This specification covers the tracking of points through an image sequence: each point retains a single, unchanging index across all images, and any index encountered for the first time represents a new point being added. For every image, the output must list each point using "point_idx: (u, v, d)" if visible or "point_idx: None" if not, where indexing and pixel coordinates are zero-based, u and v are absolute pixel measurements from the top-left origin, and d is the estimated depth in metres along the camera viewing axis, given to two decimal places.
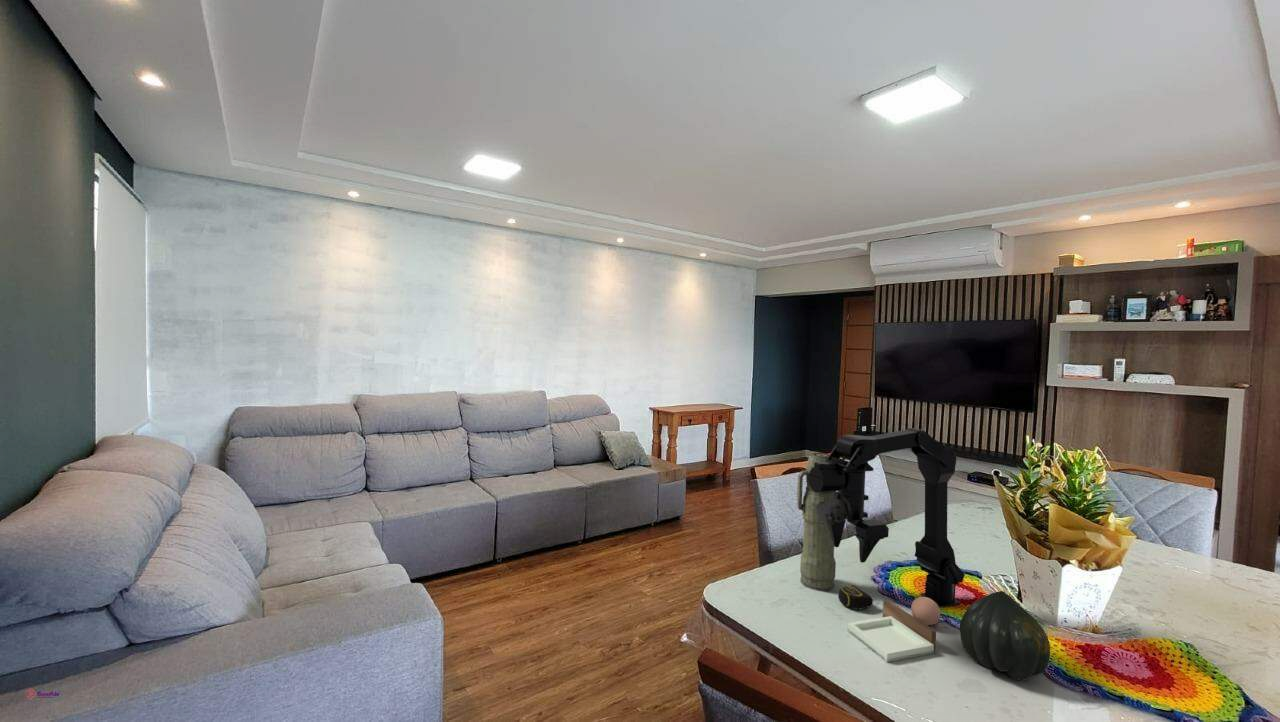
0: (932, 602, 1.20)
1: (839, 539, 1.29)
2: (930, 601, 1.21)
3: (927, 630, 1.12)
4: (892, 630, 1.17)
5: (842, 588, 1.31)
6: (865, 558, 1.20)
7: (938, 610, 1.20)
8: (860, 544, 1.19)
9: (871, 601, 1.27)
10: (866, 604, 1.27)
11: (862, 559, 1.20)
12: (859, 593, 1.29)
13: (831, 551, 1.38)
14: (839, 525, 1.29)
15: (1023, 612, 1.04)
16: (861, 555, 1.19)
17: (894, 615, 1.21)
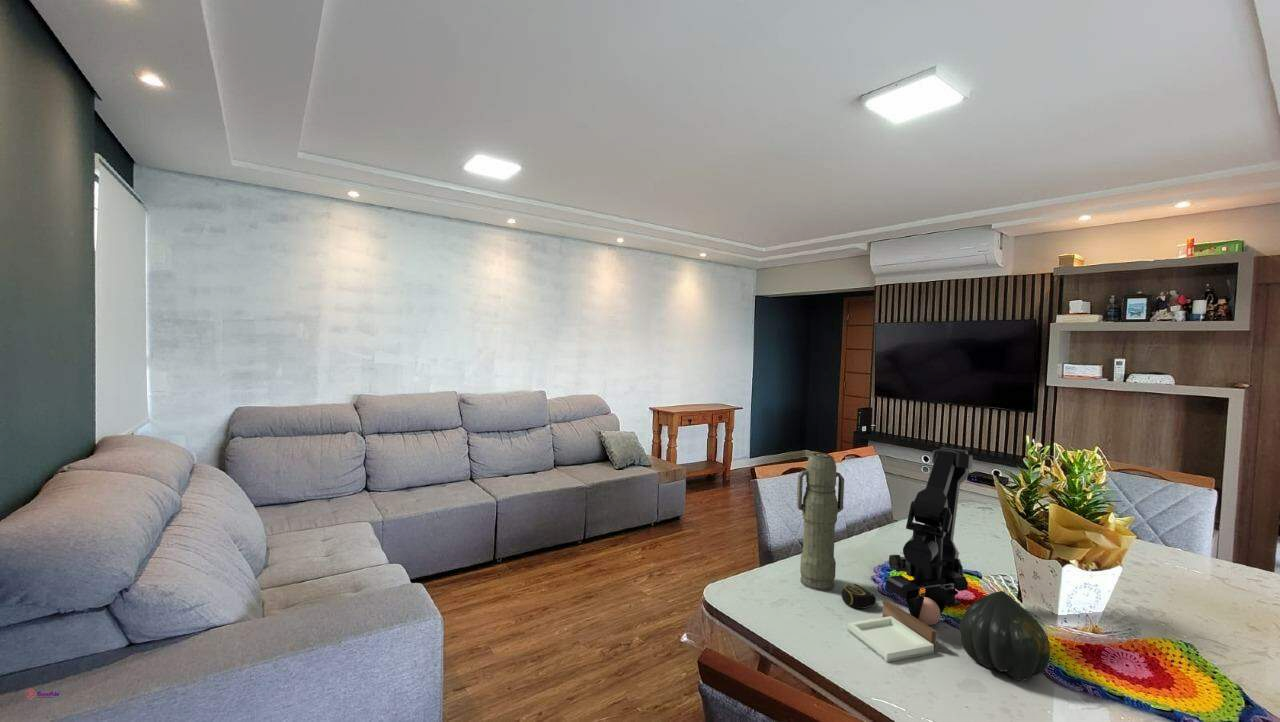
0: (932, 602, 1.20)
1: None
2: (930, 601, 1.21)
3: (927, 630, 1.12)
4: (892, 630, 1.17)
5: (845, 587, 1.32)
6: None
7: (938, 610, 1.20)
8: None
9: (874, 600, 1.28)
10: (869, 603, 1.28)
11: None
12: (862, 592, 1.29)
13: (831, 551, 1.38)
14: (940, 597, 1.22)
15: (1023, 612, 1.04)
16: None
17: (894, 615, 1.21)
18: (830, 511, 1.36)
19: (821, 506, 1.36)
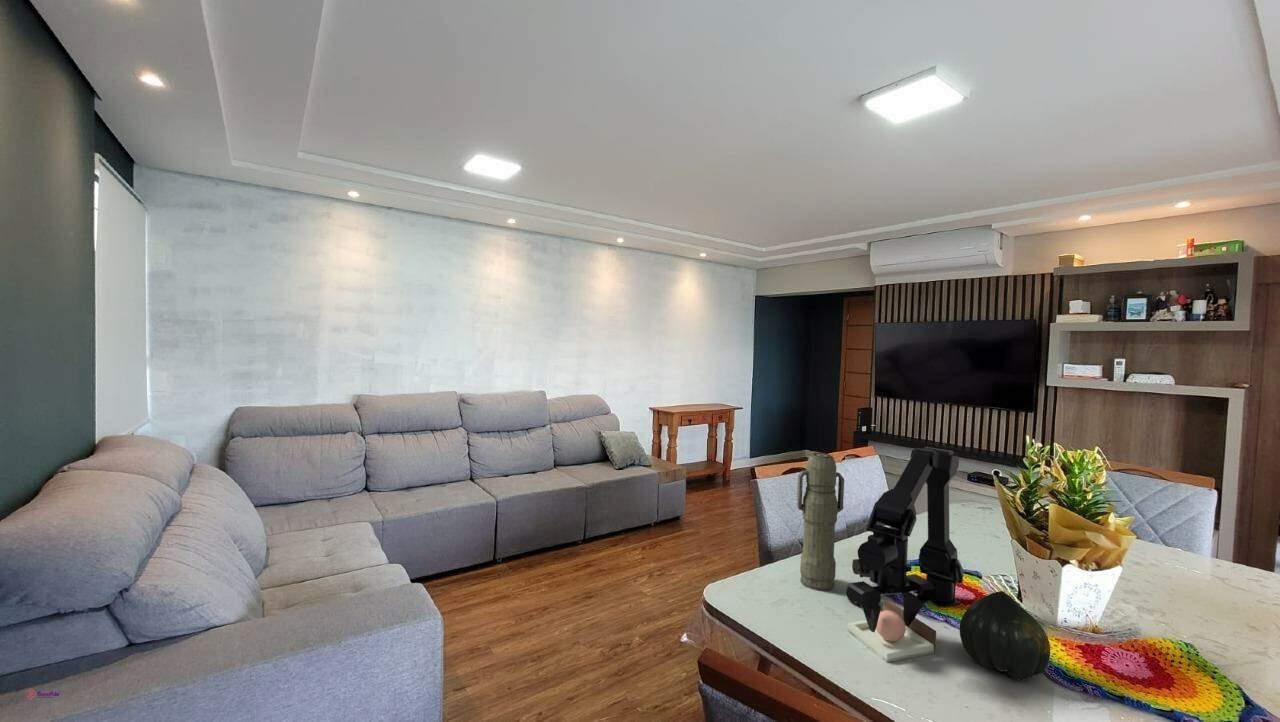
0: (897, 616, 1.13)
1: (908, 618, 1.14)
2: (896, 615, 1.13)
3: (927, 630, 1.12)
4: None
5: None
6: (871, 627, 1.12)
7: (903, 625, 1.12)
8: None
9: None
10: None
11: (869, 626, 1.13)
12: None
13: (831, 551, 1.38)
14: (911, 604, 1.14)
15: (1023, 612, 1.04)
16: None
17: None
18: (830, 511, 1.36)
19: (821, 506, 1.36)
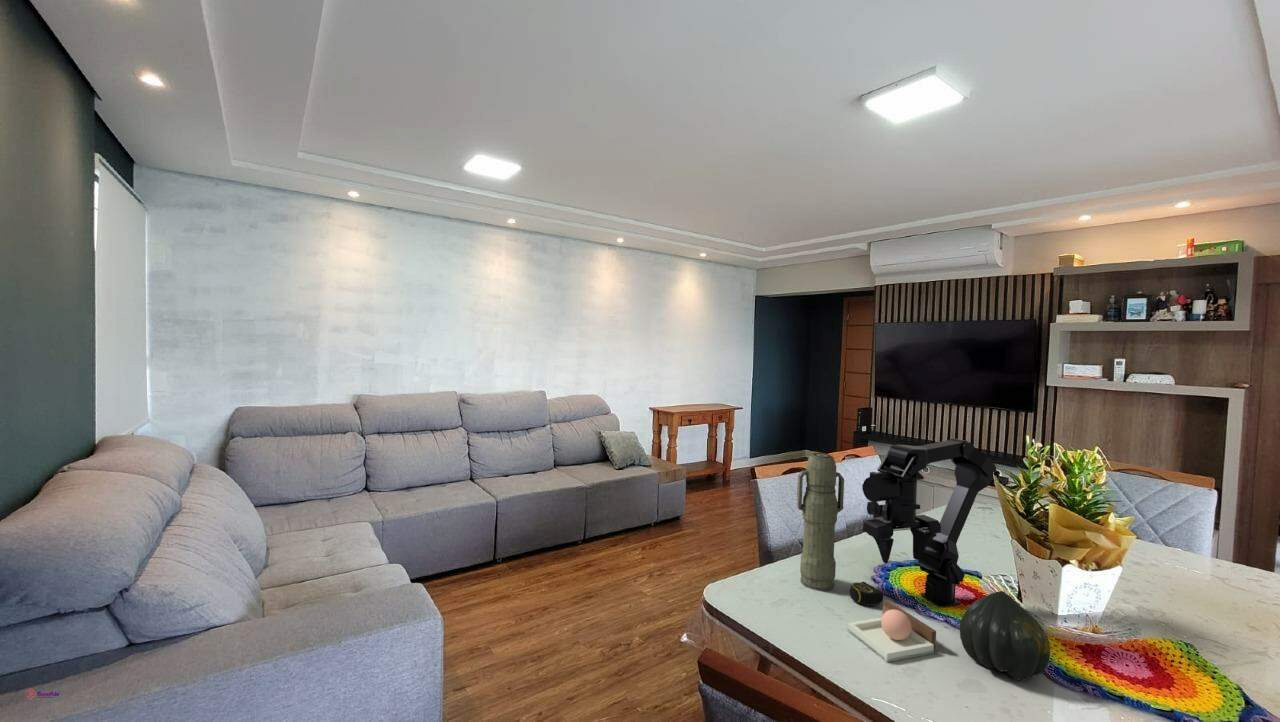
0: (908, 618, 1.13)
1: (917, 552, 1.28)
2: (906, 616, 1.14)
3: (927, 630, 1.12)
4: None
5: (853, 585, 1.33)
6: (884, 559, 1.26)
7: (910, 627, 1.12)
8: None
9: (882, 597, 1.29)
10: (877, 600, 1.29)
11: (882, 558, 1.27)
12: (870, 589, 1.31)
13: (831, 551, 1.38)
14: (920, 540, 1.28)
15: (1023, 612, 1.04)
16: None
17: None
18: (830, 511, 1.36)
19: (821, 506, 1.36)
